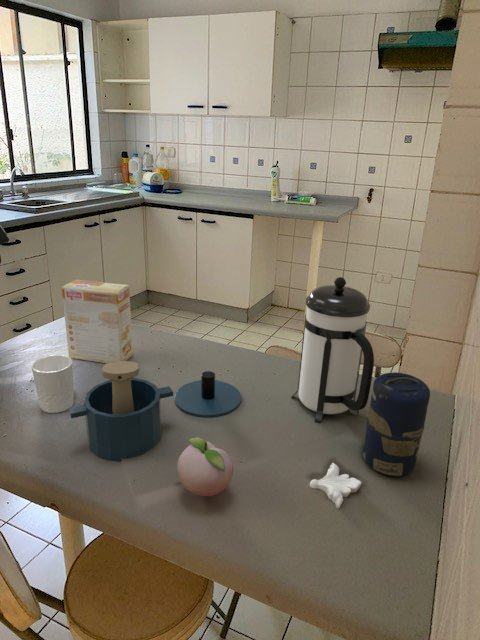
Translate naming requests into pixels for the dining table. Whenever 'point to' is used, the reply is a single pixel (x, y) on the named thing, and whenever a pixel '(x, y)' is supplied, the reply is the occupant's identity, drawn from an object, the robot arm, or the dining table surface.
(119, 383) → the handle
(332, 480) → the acanthus leaf ornament
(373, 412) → the canister
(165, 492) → the dining table surface
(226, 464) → the decorative fruit
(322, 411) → the coffee press
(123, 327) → the coffeecake box
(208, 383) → the lid
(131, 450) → the pot
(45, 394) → the white cup
